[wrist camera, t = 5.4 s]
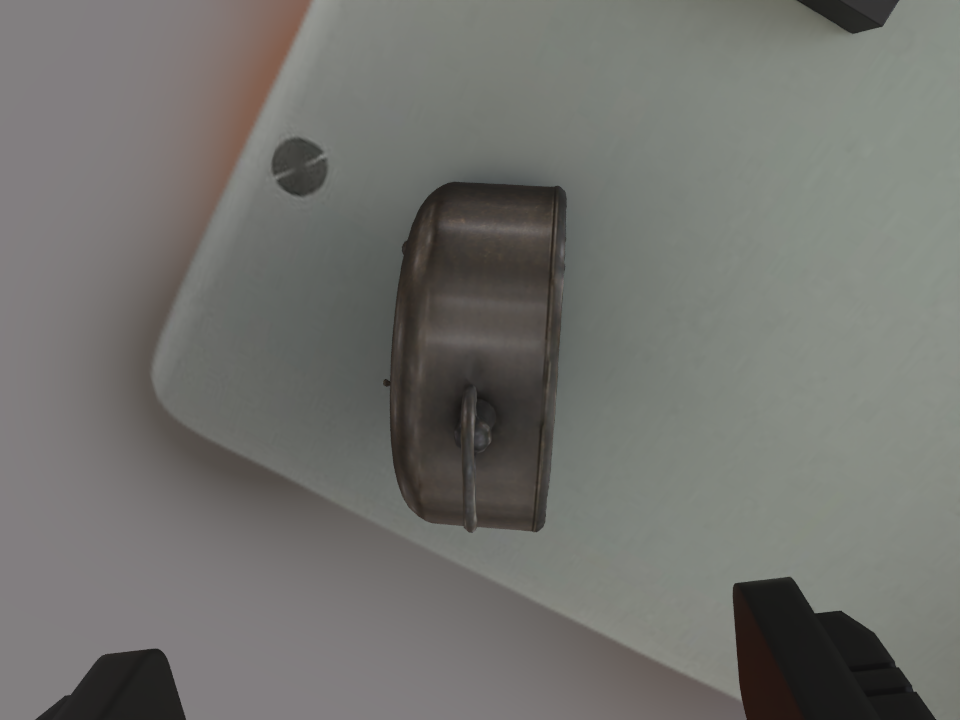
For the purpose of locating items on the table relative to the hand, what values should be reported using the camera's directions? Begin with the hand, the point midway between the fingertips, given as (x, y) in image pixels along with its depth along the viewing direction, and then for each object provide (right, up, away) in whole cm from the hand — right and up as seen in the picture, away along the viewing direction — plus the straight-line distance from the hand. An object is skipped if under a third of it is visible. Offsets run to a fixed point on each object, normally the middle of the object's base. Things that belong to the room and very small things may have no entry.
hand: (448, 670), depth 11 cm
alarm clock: (+1, +6, +21) cm, 23 cm away
